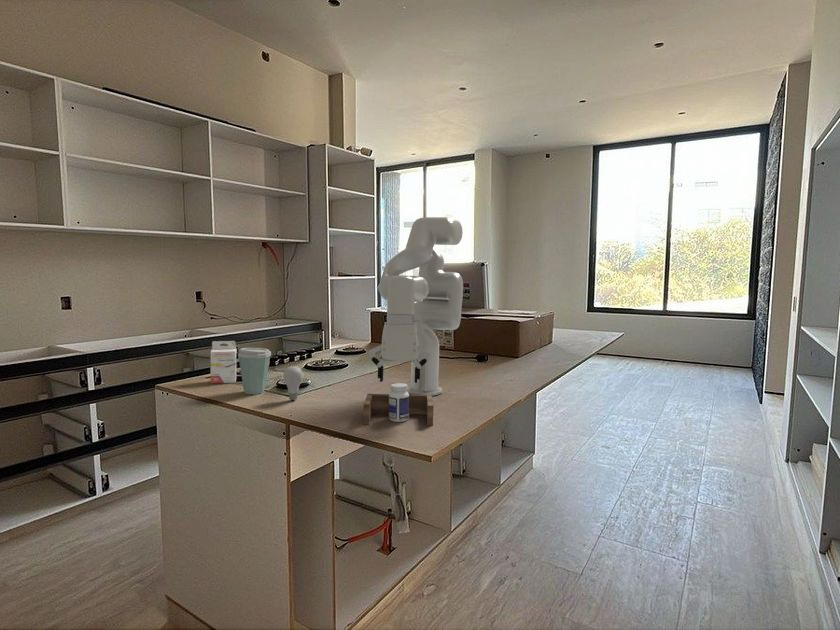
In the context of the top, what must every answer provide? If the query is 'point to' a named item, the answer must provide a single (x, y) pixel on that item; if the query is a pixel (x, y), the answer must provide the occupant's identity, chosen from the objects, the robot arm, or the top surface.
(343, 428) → the top surface
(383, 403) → the open wooden frame
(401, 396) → the pill bottle
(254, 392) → the disposable coffee cup
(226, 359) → the ink cartridge box
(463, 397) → the top surface
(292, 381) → the lightbulb
